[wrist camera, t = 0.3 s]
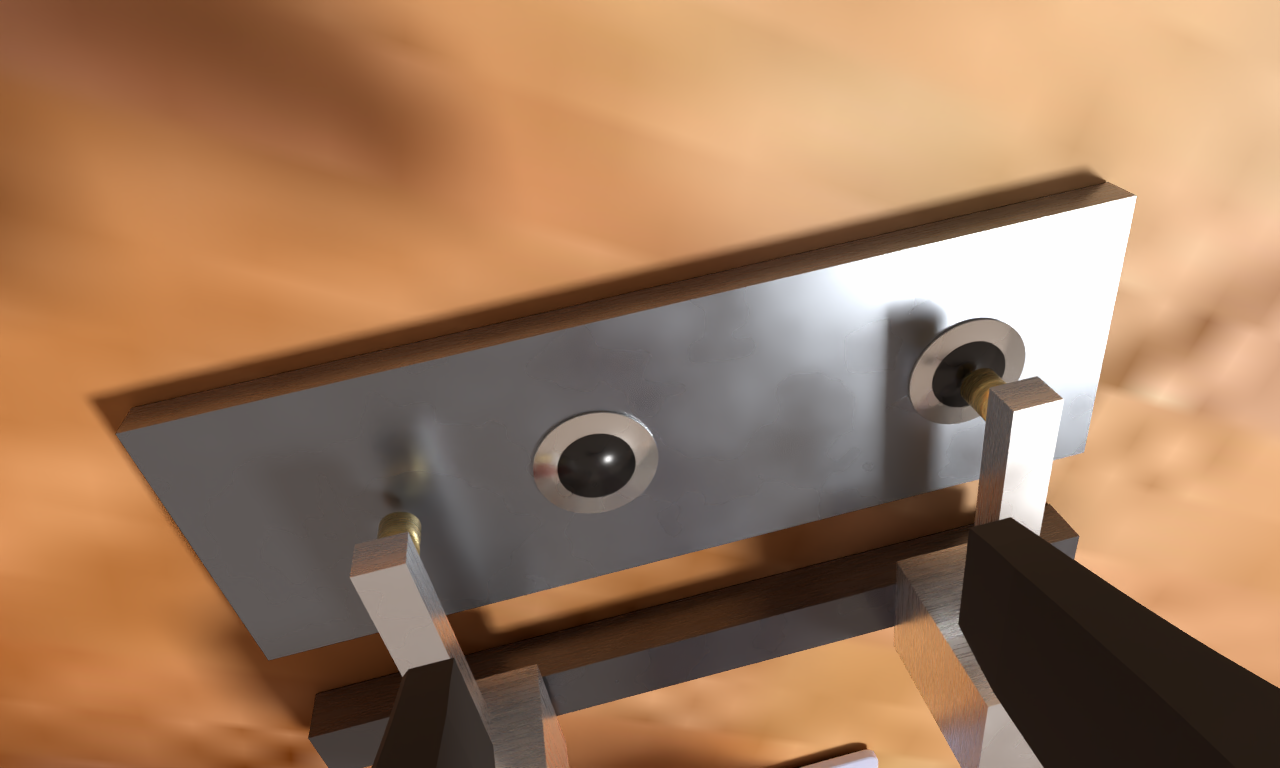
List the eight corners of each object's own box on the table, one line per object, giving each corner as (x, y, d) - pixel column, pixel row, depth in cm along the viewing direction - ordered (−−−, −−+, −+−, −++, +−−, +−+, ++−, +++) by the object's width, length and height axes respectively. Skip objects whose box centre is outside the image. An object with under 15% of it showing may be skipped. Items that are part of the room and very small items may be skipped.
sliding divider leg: (565, 736, 25) (586, 914, 21) (440, 770, 25) (436, 957, 21) (469, 476, 19) (472, 653, 15) (302, 517, 19) (255, 710, 14)
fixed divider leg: (1008, 614, 26) (1110, 753, 22) (893, 645, 26) (975, 792, 22) (1053, 331, 20) (1206, 451, 16) (903, 368, 20) (1019, 499, 16)
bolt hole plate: (1062, 432, 24) (1087, 455, 23) (275, 631, 23) (267, 665, 22) (1108, 182, 20) (1141, 198, 19) (131, 408, 18) (112, 438, 17)
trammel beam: (1041, 546, 27) (1069, 579, 26) (339, 731, 26) (333, 775, 24) (1049, 504, 26) (1078, 535, 25) (315, 694, 24) (308, 738, 23)
